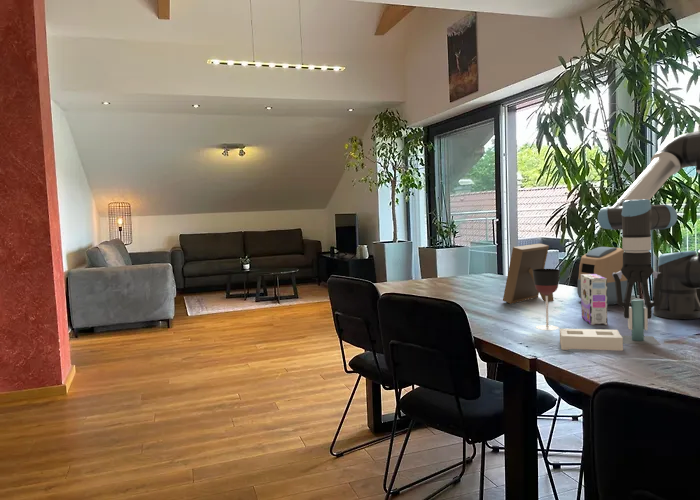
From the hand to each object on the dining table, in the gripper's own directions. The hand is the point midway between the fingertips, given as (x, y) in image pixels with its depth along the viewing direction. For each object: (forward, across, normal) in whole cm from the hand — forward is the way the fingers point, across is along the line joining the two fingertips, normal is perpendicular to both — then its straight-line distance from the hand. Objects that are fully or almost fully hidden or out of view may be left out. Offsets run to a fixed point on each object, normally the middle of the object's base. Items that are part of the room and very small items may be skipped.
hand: (637, 328), depth 157 cm
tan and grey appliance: (+4, +1, -68) cm, 68 cm away
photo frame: (+4, +30, -69) cm, 75 cm away
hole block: (+4, +14, +8) cm, 17 cm away
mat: (+4, 0, 0) cm, 4 cm away
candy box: (+4, +9, -28) cm, 30 cm away
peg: (+3, 0, 0) cm, 3 cm away
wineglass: (+4, +25, -16) cm, 30 cm away
